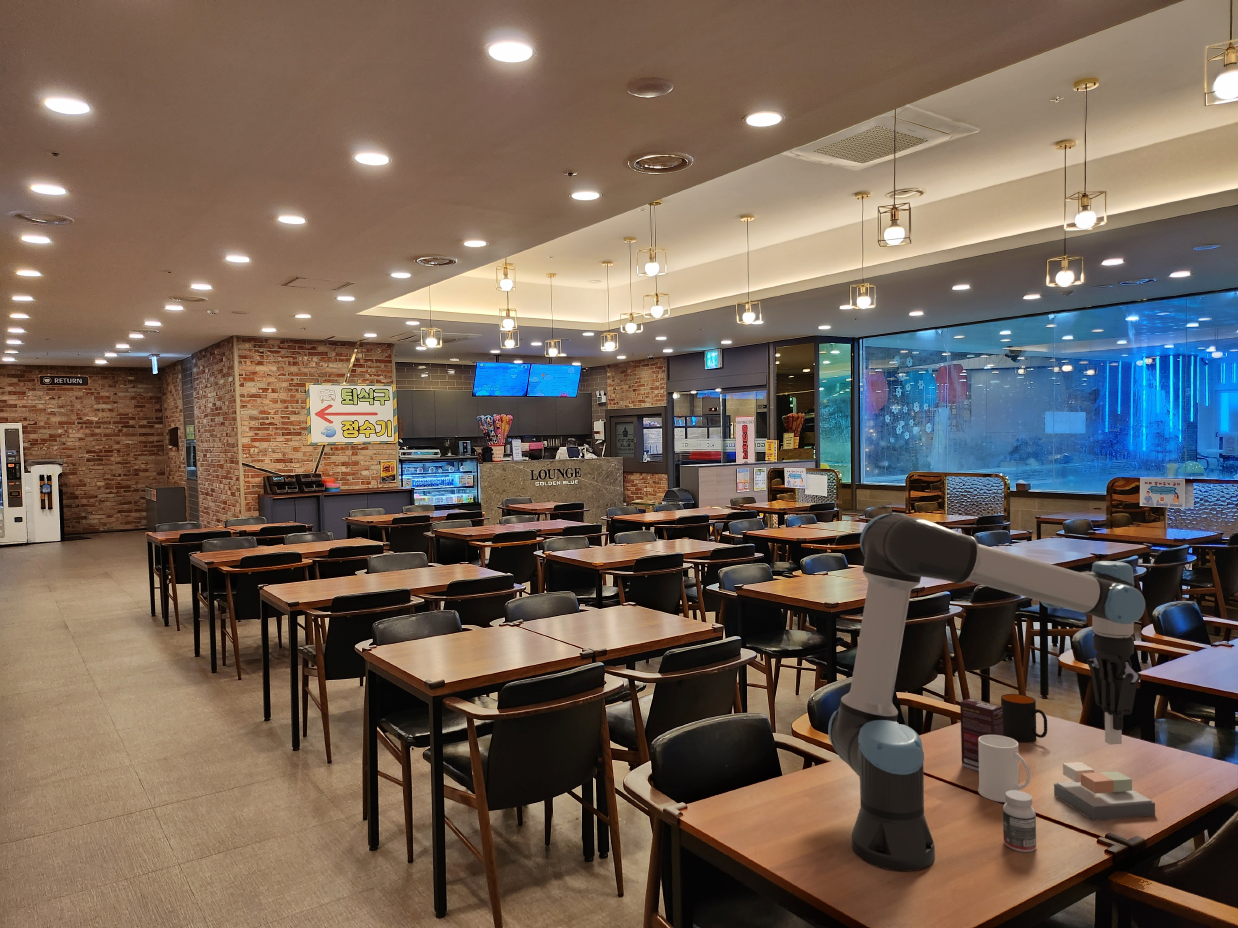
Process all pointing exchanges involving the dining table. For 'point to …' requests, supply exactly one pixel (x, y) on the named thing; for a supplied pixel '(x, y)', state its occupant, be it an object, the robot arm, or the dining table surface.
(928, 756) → the dining table surface
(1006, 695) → the mug
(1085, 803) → the keypad
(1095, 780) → the terracotta key
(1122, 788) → the sage key
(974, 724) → the supplement box
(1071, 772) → the cream key
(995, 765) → the mug
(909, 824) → the robot arm
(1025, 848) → the pill bottle
